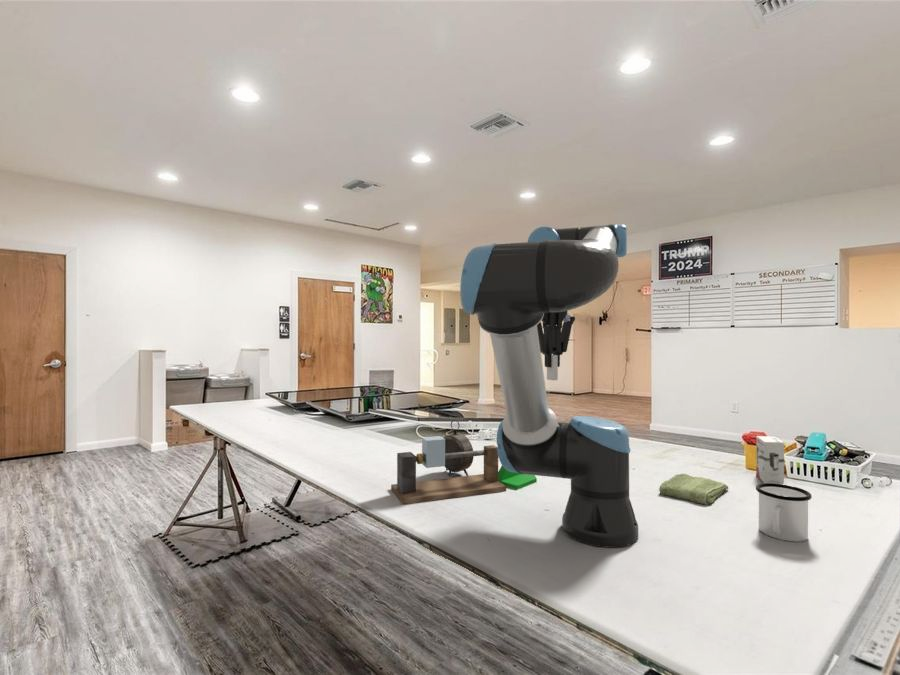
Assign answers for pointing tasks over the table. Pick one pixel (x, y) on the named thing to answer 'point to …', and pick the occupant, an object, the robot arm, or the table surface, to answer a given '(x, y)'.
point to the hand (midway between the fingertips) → (552, 379)
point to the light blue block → (433, 451)
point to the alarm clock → (454, 445)
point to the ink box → (770, 459)
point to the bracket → (515, 479)
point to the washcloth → (693, 488)
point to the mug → (783, 511)
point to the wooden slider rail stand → (445, 487)
